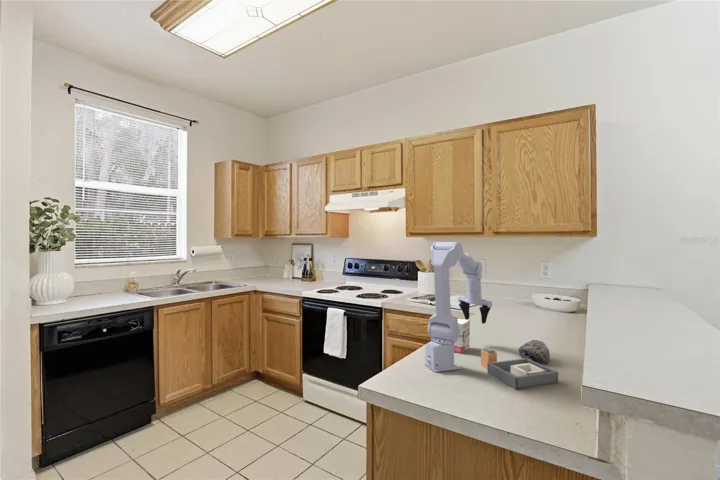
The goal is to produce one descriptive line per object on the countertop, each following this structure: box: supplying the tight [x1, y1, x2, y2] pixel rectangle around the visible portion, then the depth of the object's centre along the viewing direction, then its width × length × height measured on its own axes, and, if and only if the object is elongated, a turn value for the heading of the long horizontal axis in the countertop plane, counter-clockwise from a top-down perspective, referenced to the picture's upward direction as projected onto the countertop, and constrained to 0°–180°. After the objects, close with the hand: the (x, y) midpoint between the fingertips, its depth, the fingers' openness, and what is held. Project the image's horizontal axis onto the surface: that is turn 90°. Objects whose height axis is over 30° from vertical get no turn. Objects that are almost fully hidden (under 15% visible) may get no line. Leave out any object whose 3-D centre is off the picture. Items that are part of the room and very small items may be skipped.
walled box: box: [487, 358, 559, 391], centre depth 109 cm, size 16×13×4 cm
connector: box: [480, 347, 498, 370], centre depth 119 cm, size 4×4×6 cm
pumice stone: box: [518, 339, 551, 365], centre depth 125 cm, size 10×8×10 cm
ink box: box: [454, 318, 471, 354], centre depth 137 cm, size 9×5×12 cm, turn 143°
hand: (475, 320), depth 142 cm, fingers open, 7 cm apart
